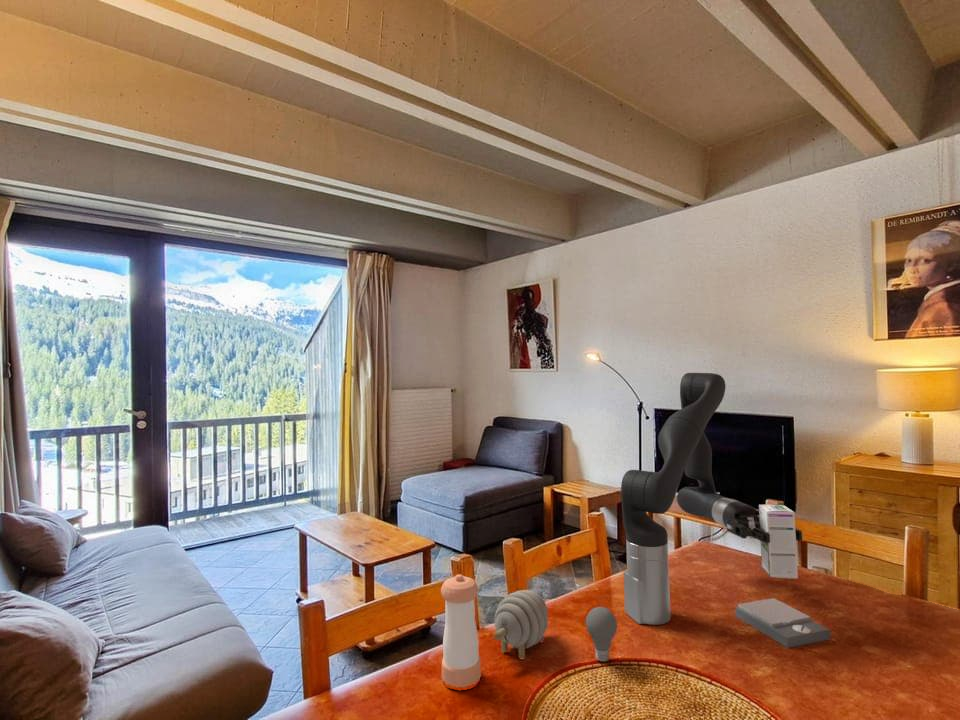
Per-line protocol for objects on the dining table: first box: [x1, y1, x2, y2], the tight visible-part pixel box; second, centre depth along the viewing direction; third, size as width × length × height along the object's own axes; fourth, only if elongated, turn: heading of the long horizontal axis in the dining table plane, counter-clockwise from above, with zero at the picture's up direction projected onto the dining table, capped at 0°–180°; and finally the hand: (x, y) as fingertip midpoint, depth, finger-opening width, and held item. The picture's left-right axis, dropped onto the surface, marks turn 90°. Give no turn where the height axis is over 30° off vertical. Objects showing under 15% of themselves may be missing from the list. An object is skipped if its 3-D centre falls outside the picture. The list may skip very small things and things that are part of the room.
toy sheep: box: [493, 589, 549, 659], centre depth 103 cm, size 11×17×11 cm, turn 148°
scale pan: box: [737, 597, 812, 628], centre depth 110 cm, size 10×10×1 cm
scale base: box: [734, 606, 831, 649], centre depth 109 cm, size 11×14×2 cm
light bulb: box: [585, 606, 618, 662], centre depth 98 cm, size 6×6×10 cm
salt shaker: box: [440, 573, 482, 687], centre depth 93 cm, size 7×7×19 cm
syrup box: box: [758, 503, 799, 579], centre depth 110 cm, size 6×6×14 cm
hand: (784, 537), depth 108 cm, fingers closed on syrup box, 7 cm apart
